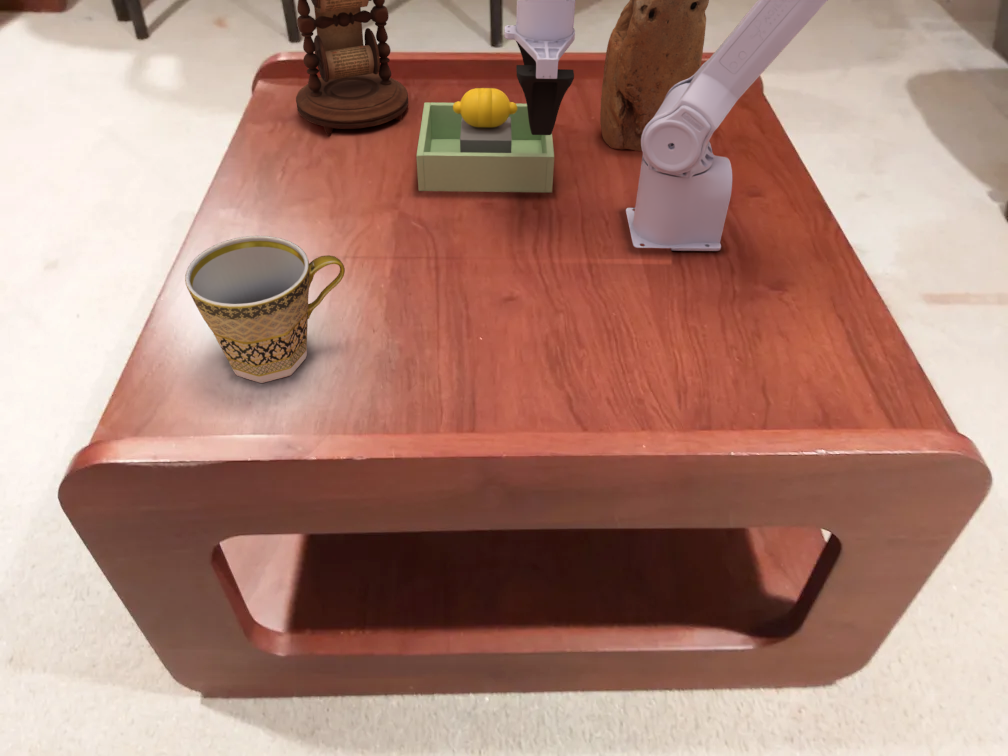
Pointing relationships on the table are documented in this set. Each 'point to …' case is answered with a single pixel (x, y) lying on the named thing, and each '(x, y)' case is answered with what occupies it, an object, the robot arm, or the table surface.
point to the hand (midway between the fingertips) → (539, 116)
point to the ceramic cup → (258, 302)
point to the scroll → (347, 67)
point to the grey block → (486, 138)
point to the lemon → (485, 107)
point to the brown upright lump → (648, 64)
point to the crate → (481, 156)
